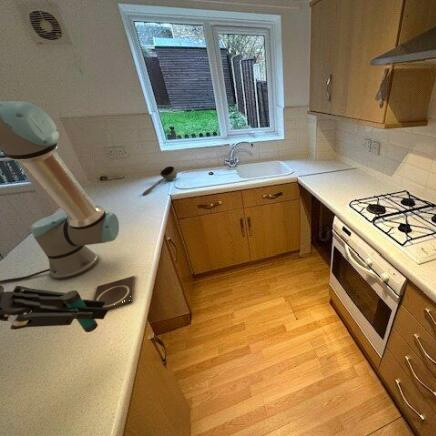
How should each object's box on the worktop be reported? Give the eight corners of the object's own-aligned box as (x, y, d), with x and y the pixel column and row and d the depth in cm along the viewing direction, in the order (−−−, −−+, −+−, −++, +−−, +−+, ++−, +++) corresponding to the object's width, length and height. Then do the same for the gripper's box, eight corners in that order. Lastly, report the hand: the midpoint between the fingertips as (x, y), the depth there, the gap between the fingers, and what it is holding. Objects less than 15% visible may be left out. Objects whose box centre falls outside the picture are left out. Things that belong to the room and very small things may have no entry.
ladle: (181, 174, 200) (175, 164, 193) (158, 204, 173) (150, 193, 166) (169, 175, 202) (162, 165, 196) (144, 205, 175) (136, 194, 168)
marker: (83, 334, 61) (59, 301, 55) (85, 325, 63) (63, 293, 57) (97, 329, 62) (75, 296, 56) (99, 321, 64) (78, 288, 58)
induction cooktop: (90, 315, 79) (89, 313, 78) (98, 288, 90) (97, 286, 89) (132, 302, 83) (131, 300, 83) (135, 277, 94) (134, 275, 94)
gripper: (-28, 308, 40) (120, 313, 59) (-22, 266, 50) (104, 282, 68) (-55, 349, 40) (103, 341, 58) (-44, 299, 49) (89, 306, 68)
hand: (103, 309), depth 63 cm, fingers closed on marker, 3 cm apart
